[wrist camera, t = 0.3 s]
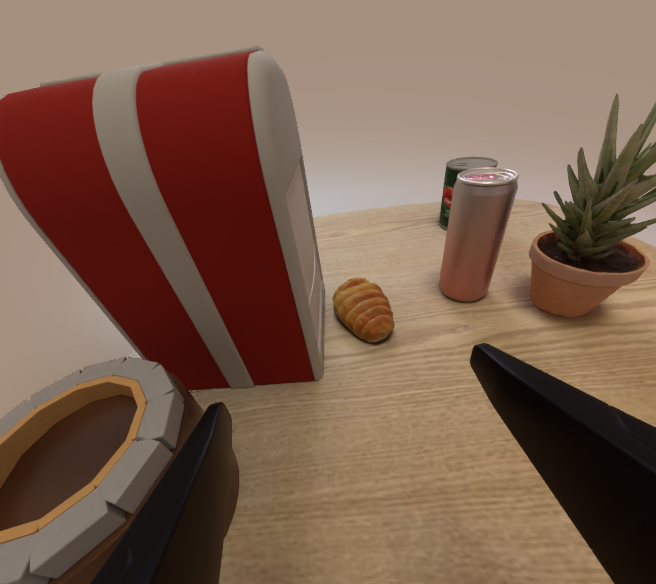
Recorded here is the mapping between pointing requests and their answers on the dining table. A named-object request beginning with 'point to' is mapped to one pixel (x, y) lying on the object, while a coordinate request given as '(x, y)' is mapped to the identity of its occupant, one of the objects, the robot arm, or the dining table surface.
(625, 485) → the robot arm
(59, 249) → the red gift box
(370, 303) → the pastry
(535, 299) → the potted plant
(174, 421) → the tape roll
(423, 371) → the dining table surface
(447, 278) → the beverage can
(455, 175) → the canned tomato
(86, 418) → the brown cylindrical pot
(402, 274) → the dining table surface
